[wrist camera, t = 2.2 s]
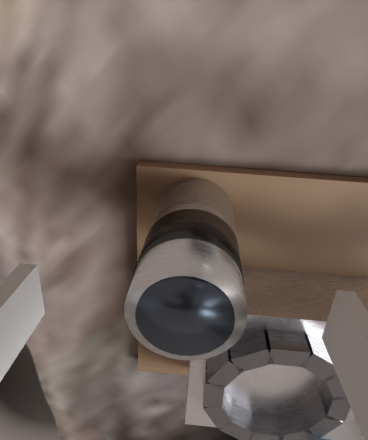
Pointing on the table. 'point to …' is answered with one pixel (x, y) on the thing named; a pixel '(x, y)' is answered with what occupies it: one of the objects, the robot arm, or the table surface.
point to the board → (270, 223)
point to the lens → (189, 276)
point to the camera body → (277, 364)
